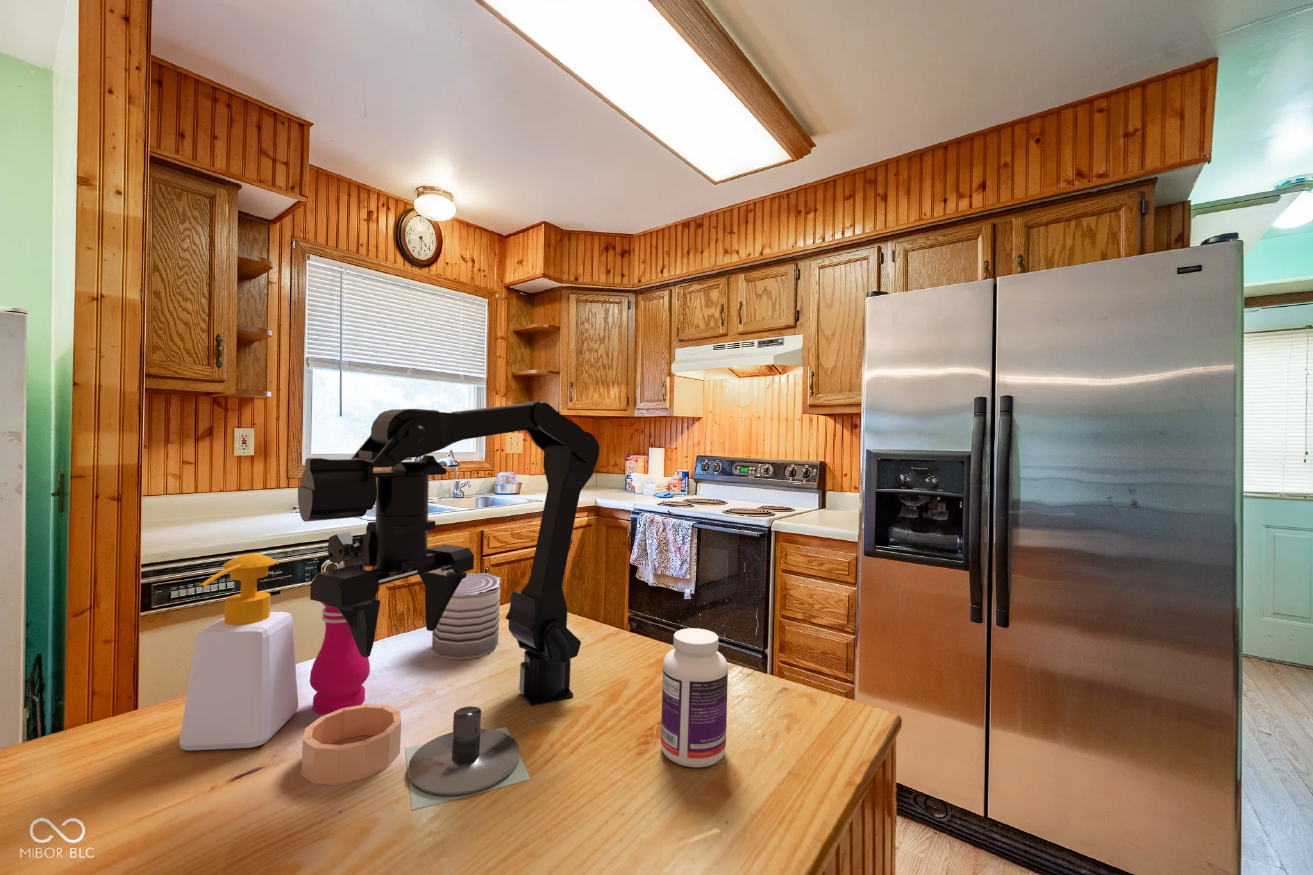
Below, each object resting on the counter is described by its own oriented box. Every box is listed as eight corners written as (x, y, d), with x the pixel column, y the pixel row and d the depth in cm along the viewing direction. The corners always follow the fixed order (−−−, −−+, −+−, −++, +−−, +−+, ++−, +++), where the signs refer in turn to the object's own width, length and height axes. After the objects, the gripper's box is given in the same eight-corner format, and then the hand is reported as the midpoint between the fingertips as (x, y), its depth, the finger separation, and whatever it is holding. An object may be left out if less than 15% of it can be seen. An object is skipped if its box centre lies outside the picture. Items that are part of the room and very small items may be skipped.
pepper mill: (341, 721, 71) (348, 568, 71) (294, 714, 72) (301, 564, 73) (380, 696, 78) (386, 557, 78) (336, 690, 80) (342, 553, 80)
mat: (506, 729, 71) (506, 726, 71) (530, 781, 60) (530, 778, 60) (405, 750, 65) (405, 748, 65) (412, 812, 54) (412, 809, 54)
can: (512, 645, 99) (514, 579, 99) (460, 665, 90) (463, 593, 90) (469, 631, 105) (472, 569, 105) (417, 649, 96) (420, 581, 96)
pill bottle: (731, 742, 69) (735, 630, 70) (717, 778, 62) (722, 652, 62) (671, 729, 72) (675, 621, 72) (650, 762, 65) (655, 641, 65)
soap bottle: (142, 779, 58) (151, 571, 58) (224, 714, 72) (231, 546, 72) (241, 774, 60) (250, 571, 60) (302, 711, 73) (309, 546, 73)
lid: (506, 726, 71) (508, 682, 71) (530, 779, 60) (532, 726, 60) (405, 748, 65) (407, 699, 65) (412, 809, 54) (414, 752, 55)
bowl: (397, 729, 70) (398, 698, 70) (401, 772, 61) (402, 736, 61) (307, 747, 65) (308, 713, 65) (297, 796, 56) (299, 757, 56)
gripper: (417, 500, 77) (415, 609, 77) (279, 517, 60) (277, 658, 60) (477, 506, 72) (475, 623, 73) (346, 527, 55) (343, 679, 56)
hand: (399, 642), depth 65 cm, fingers open, 9 cm apart
